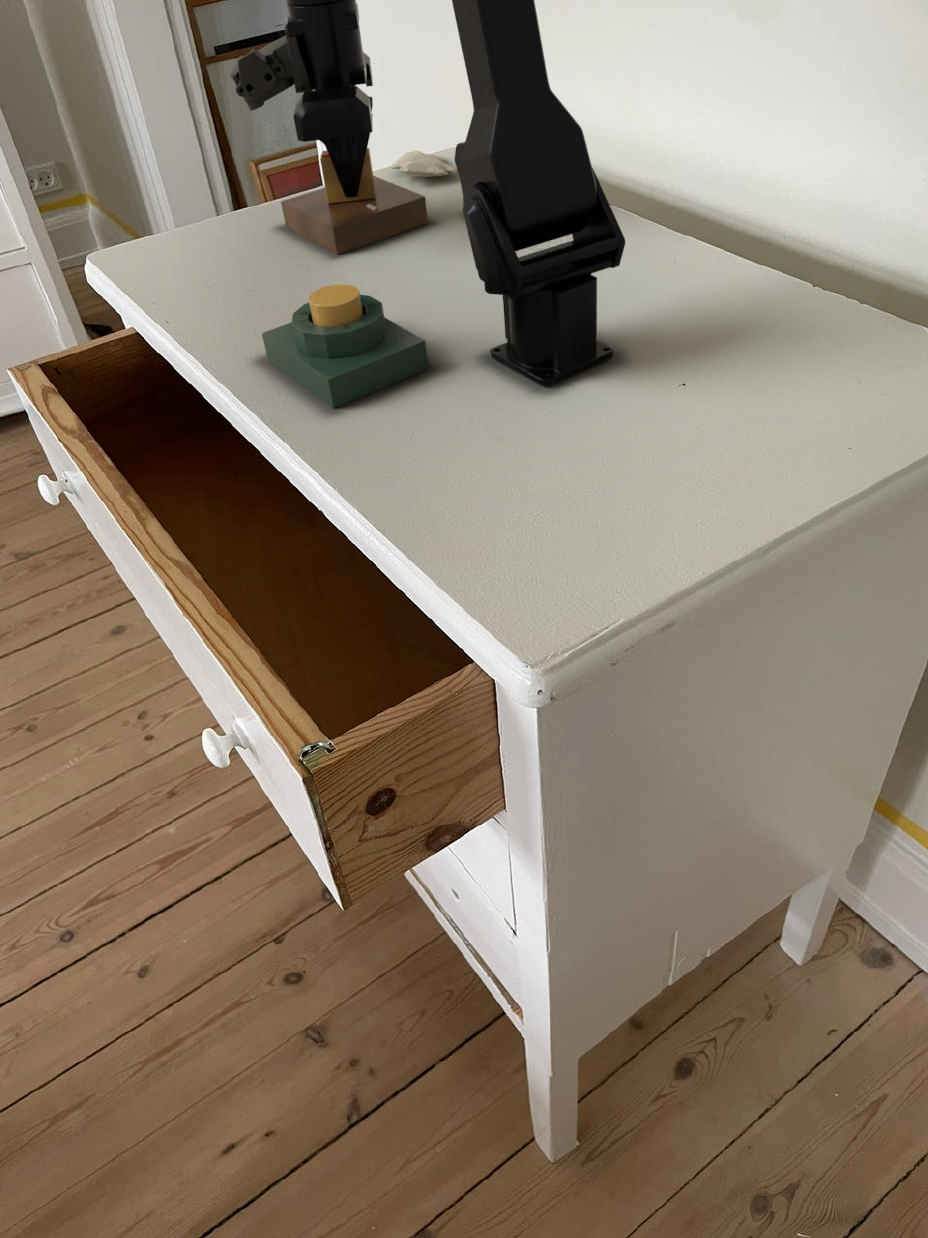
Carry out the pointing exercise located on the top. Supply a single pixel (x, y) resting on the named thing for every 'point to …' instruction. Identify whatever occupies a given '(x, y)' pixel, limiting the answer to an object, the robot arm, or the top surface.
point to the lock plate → (355, 217)
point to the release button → (335, 305)
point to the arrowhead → (422, 165)
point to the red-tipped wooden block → (334, 186)
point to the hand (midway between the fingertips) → (351, 192)
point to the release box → (345, 353)
